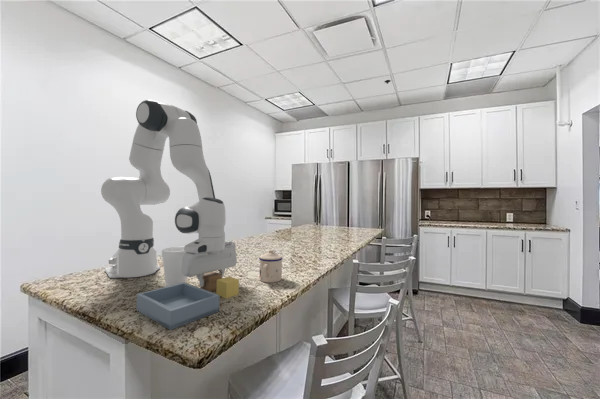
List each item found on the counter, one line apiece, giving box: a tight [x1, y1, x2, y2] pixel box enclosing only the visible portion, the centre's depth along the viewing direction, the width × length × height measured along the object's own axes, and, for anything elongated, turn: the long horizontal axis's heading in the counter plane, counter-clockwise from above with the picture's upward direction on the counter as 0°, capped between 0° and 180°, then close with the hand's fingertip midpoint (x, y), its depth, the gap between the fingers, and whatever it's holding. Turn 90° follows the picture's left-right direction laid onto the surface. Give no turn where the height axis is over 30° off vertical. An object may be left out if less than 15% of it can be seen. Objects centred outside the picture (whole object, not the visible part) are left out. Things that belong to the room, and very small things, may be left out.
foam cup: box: [161, 246, 188, 287], centre depth 96 cm, size 10×9×13 cm
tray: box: [136, 282, 221, 331], centre depth 75 cm, size 18×14×4 cm
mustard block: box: [215, 276, 240, 299], centre depth 89 cm, size 5×5×5 cm
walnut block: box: [199, 271, 223, 292], centre depth 94 cm, size 5×5×5 cm
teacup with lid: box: [258, 249, 283, 284], centre depth 105 cm, size 12×9×12 cm
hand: (210, 283), depth 94 cm, fingers closed on walnut block, 5 cm apart
